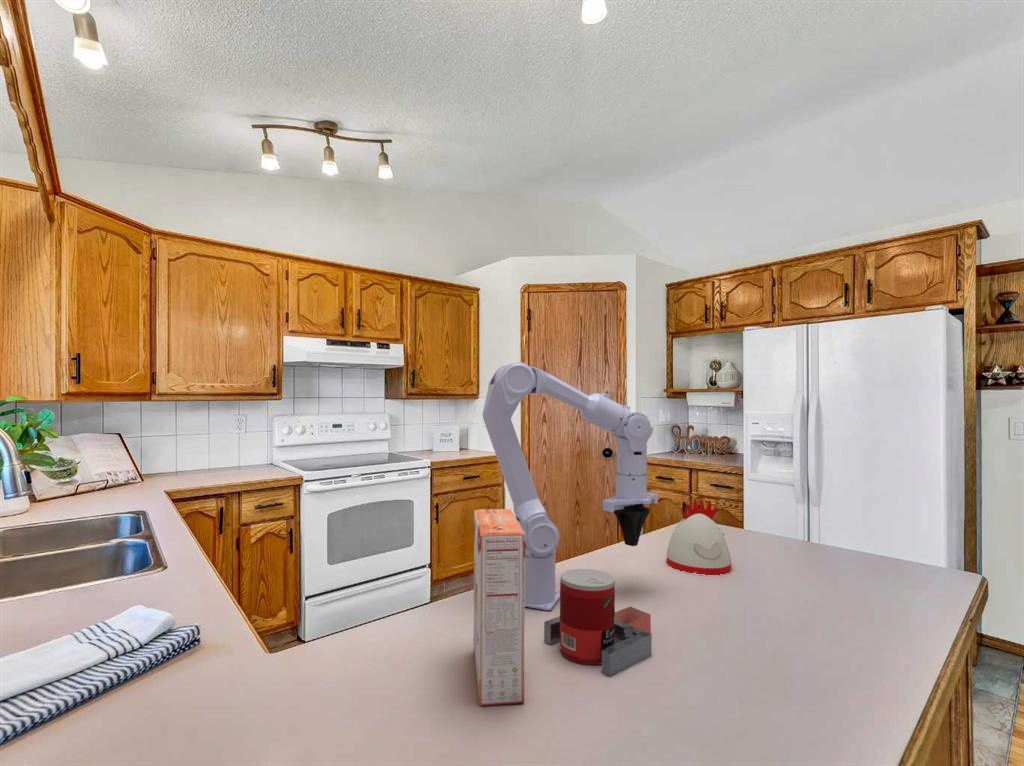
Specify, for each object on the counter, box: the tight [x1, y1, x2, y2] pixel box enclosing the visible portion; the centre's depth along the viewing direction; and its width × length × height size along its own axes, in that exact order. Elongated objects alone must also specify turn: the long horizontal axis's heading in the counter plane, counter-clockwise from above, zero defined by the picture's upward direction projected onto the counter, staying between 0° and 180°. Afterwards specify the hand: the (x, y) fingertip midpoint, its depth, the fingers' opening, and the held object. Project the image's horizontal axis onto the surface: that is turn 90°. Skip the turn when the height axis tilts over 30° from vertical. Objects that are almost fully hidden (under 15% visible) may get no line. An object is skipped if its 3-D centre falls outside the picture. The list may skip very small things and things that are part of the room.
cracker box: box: [473, 508, 526, 707], centre depth 69 cm, size 14×6×21 cm, turn 7°
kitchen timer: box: [666, 498, 732, 576], centre depth 118 cm, size 14×14×15 cm
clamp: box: [543, 606, 653, 677], centre depth 79 cm, size 15×13×3 cm
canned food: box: [559, 568, 616, 666], centre depth 76 cm, size 8×8×11 cm
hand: (631, 544), depth 99 cm, fingers closed
